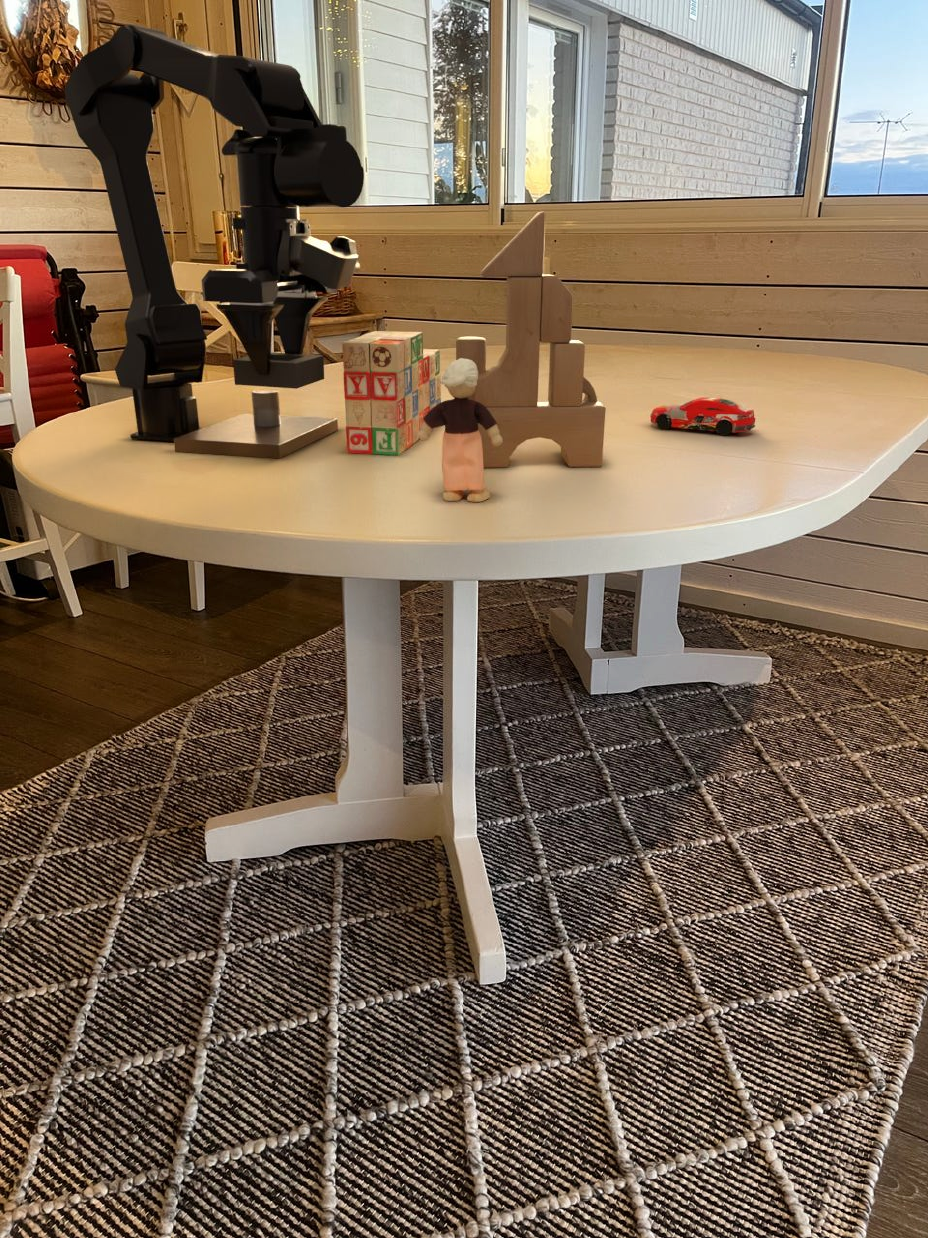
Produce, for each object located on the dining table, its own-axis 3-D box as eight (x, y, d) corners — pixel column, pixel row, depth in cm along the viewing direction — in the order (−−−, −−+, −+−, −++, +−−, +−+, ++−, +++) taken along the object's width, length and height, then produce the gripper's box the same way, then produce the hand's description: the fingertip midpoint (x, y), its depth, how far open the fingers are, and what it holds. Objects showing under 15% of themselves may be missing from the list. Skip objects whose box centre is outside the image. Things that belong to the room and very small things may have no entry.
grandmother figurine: (499, 492, 88) (502, 355, 83) (502, 502, 84) (504, 361, 79) (419, 492, 88) (417, 355, 83) (418, 503, 84) (416, 360, 79)
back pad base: (174, 451, 104) (169, 402, 102) (245, 424, 119) (241, 381, 117) (279, 458, 101) (275, 408, 99) (338, 430, 116) (336, 385, 114)
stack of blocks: (396, 419, 123) (394, 323, 118) (441, 421, 122) (441, 324, 117) (346, 453, 104) (341, 340, 99) (399, 455, 102) (397, 341, 98)
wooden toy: (590, 453, 104) (604, 213, 94) (602, 467, 98) (618, 211, 88) (455, 454, 103) (455, 212, 94) (458, 468, 97) (458, 210, 87)
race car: (643, 428, 118) (646, 397, 117) (657, 421, 123) (659, 391, 121) (746, 438, 112) (750, 405, 111) (757, 431, 117) (761, 399, 115)
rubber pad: (234, 384, 94) (232, 359, 93) (265, 375, 101) (264, 351, 100) (296, 388, 93) (295, 363, 92) (324, 379, 99) (323, 355, 98)
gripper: (305, 205, 80) (313, 387, 86) (379, 210, 96) (382, 363, 103) (191, 204, 83) (207, 380, 89) (283, 209, 99) (291, 357, 105)
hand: (279, 369), depth 96 cm, fingers closed on rubber pad, 7 cm apart
